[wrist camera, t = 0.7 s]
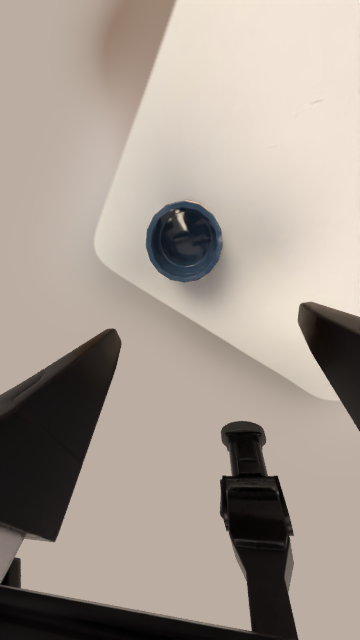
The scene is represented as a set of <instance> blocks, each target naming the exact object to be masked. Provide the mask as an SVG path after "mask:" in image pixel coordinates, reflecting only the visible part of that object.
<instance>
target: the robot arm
mask: <svg viewBox="0 0 360 640" xmlns="http://www.w3.org/2000/svg"><path fill="white" fill-rule="evenodd" d="M298 324H299V326H300V329H301V331H302V333H303V335H304V338H305V340H306V342H307V344H308V346H309V349H310V351H311V353H312V354H313V356H314V358H315V359H316V361H317V363H318V364H319V366H320V367H321V369H322V371H323V372H324V374H325V376H326V377H327V379H328V380H329V382H330V384H331V385H332V387H333V389H334V390H335V392H336V394H337V395H338V397H339V398H340V400H341V402H342V403H343V405H344V407H345V408H346V409H347V411H348V413H349V415H350V416H351V418H352V419H353V421H354V423H355V424H356V426H357V428H358V429H359V431H360V317H358V316H355V315H352V314H349V313H345V312H342V311H339V310H336V309H333V308H329V307H326V306H323V305H320V304H317V303H314V302H306V303H301V304H300V306H299V313H298ZM120 348H121V340H120V338H119V335H118V333H117V331H116V330H115V329H107V330H105V331H103V332H102V333H100V334H99V335H97V336H95V337H94V338H92V339H91V340H89V341H87V342H86V343H84V344H83V345H81V346H79V347H78V348H76V349H75V350H73V351H72V352H70V353H68V354H67V355H65V356H64V357H62V358H61V359H59V360H57V361H56V362H54V363H53V364H51V365H49V366H48V367H46V368H45V369H43V370H41V371H40V372H38V373H37V374H35V375H34V376H32V377H30V378H29V379H27V380H26V381H24V382H22V383H20V384H19V385H17V386H15V387H14V388H12V389H10V390H8V391H7V392H5V393H3V394H1V395H0V640H298V636H297V632H296V627H295V623H294V618H293V613H292V609H291V604H290V600H289V595H288V591H289V586H290V580H291V575H292V570H293V565H294V562H293V556H292V549H291V543H290V537H289V536H294V534H293V529H292V525H291V521H290V517H289V513H288V509H287V506H286V502H285V499H284V496H283V492H282V489H281V486H280V482H279V479H278V476H268V474H267V471H266V466H265V462H264V457H263V453H262V432H226V433H225V439H226V445H227V449H228V451H229V453H230V463H231V471H232V476H222V479H221V480H220V485H221V502H220V515H221V517H222V518H223V519H224V523H225V527H226V530H227V531H229V535H230V539H231V542H232V546H233V549H234V553H235V557H236V559H237V561H238V564H239V566H240V568H241V570H242V572H243V574H244V577H245V579H246V581H247V586H248V597H249V607H250V617H251V627H252V631H247V630H241V629H236V628H231V627H225V626H220V625H215V624H209V623H204V622H199V621H193V620H188V619H182V618H177V617H171V616H166V615H161V614H156V613H150V612H145V611H139V610H134V609H129V608H123V607H118V606H112V605H107V604H101V603H96V602H91V601H86V600H80V599H75V598H69V597H64V596H59V595H53V594H47V593H42V592H37V591H32V590H26V589H21V582H20V581H21V569H20V568H21V567H20V565H21V562H20V558H15V555H16V553H17V551H18V549H19V547H20V545H21V544H22V541H23V540H24V539H32V540H40V541H49V542H55V540H56V538H57V536H58V533H59V531H60V528H61V525H62V522H63V519H64V516H65V514H66V511H67V508H68V505H69V502H70V499H71V496H72V493H73V490H74V488H75V485H76V482H77V479H78V476H79V473H80V470H81V468H82V464H83V461H84V459H85V456H86V453H87V450H88V447H89V444H90V441H91V439H92V436H93V433H94V430H95V427H96V424H97V421H98V418H99V415H100V413H101V410H102V407H103V404H104V401H105V398H106V395H107V392H108V390H109V387H110V384H111V381H112V378H113V375H114V372H115V369H116V366H117V361H118V357H119V353H120Z"/></svg>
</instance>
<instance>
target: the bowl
mask: <svg viewBox="0 0 360 640" xmlns="http://www.w3.org/2000/svg"><path fill="white" fill-rule="evenodd" d="M222 245H223V244H222V234H221V228H220V227H219V225H218V223H217V221H216V219H215V217H214V215H213V214H212V212H211V211H210V210H209V209H208V208H206V207H205V206H204V205H202V204H201V203H199V202H194V201H190V200H183V201H179V202H175V203H172V204H168V205H166V206H165V207H164V208H162V209H161V210H160V211H159V212H158V213H157V214H155V216H154V217H153V219H152V221H151V223H150V225H149V227H148V229H147V238H146V248H147V251H148V255H149V258H150V261H151V262H152V264H153V265H154V266H155V268H156V269H157V270H158V272H159V273H161V274H162V275H164V276H166V277H167V278H169V279H170V280H174V281H179V282H189V281H195V280H198V279H200V278H202V277H203V276H205V275H207V274H208V273H209V272H210V271H211V270H212V269H213V267H214V266H215V265H216V263H217V262H218V260H219V257H220V253H221V250H222Z"/></svg>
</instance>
